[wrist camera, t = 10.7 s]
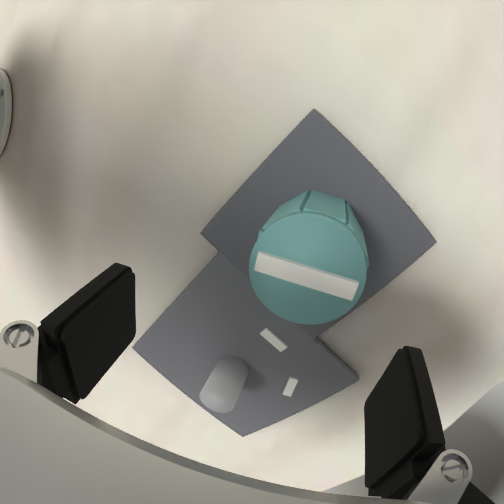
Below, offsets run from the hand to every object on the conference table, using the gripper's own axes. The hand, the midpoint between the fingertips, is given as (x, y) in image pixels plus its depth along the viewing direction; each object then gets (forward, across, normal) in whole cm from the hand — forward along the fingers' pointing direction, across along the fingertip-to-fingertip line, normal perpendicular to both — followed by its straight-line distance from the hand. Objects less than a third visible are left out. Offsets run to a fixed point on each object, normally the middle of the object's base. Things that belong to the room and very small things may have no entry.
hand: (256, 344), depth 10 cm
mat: (+13, -2, 0) cm, 13 cm away
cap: (+12, -2, 0) cm, 12 cm away
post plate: (+13, +2, +14) cm, 19 cm away
